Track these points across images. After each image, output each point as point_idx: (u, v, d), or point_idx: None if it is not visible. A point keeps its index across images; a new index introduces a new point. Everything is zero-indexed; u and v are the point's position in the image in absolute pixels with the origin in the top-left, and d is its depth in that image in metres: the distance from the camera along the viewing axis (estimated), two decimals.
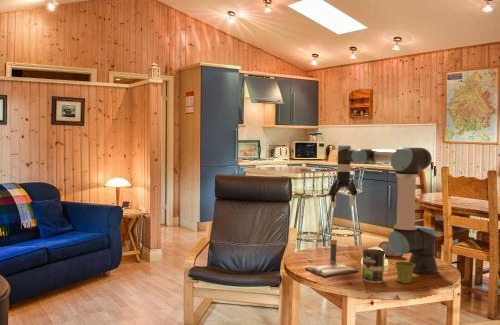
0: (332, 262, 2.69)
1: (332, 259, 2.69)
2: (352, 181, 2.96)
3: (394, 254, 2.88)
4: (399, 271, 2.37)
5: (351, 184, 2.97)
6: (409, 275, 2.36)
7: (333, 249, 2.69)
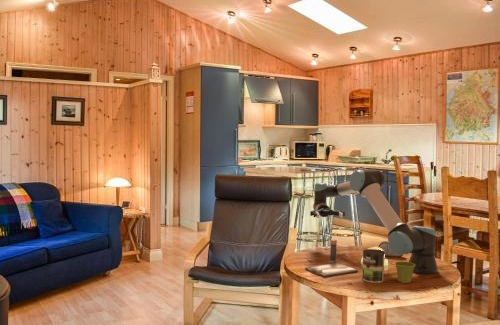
0: (332, 262, 2.69)
1: (332, 259, 2.69)
2: (334, 209, 2.94)
3: (394, 254, 2.88)
4: (399, 271, 2.37)
5: None
6: (409, 275, 2.36)
7: (333, 249, 2.69)
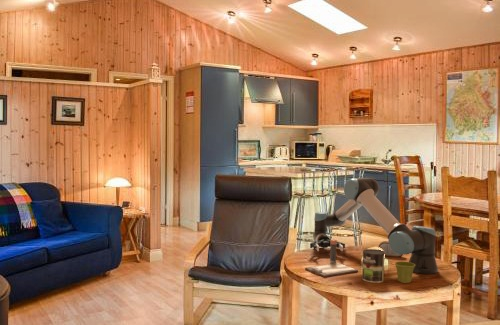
0: (332, 262, 2.69)
1: (332, 259, 2.69)
2: None
3: (394, 254, 2.88)
4: (399, 271, 2.37)
5: None
6: (409, 275, 2.36)
7: (333, 249, 2.69)
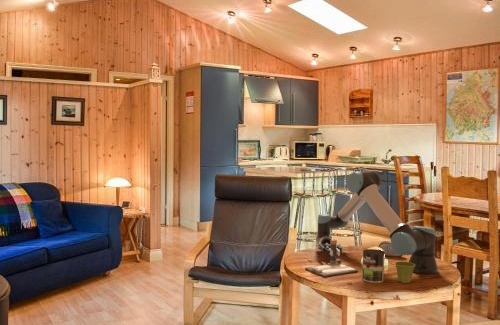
0: (332, 262, 2.69)
1: (332, 259, 2.69)
2: None
3: (394, 254, 2.88)
4: (399, 271, 2.37)
5: None
6: (409, 275, 2.36)
7: (333, 249, 2.69)
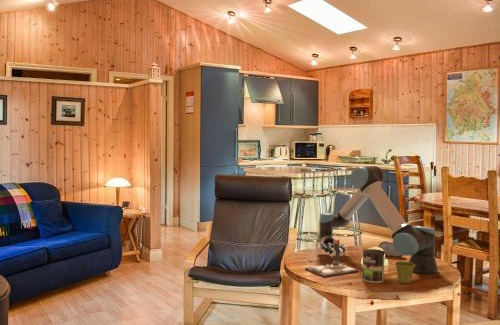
0: (335, 262, 2.63)
1: (335, 259, 2.63)
2: (341, 244, 2.74)
3: (394, 254, 2.88)
4: (399, 271, 2.37)
5: (340, 247, 2.72)
6: (409, 275, 2.36)
7: (336, 249, 2.62)
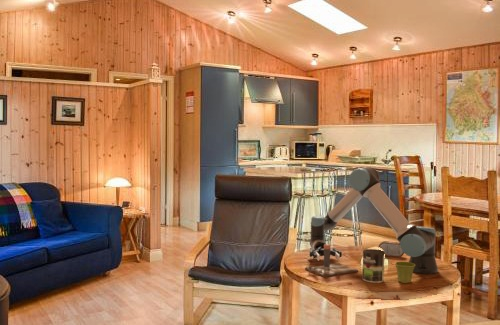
0: (326, 268, 2.52)
1: (326, 265, 2.52)
2: (333, 248, 2.64)
3: (394, 254, 2.88)
4: (399, 271, 2.37)
5: None
6: (409, 275, 2.36)
7: (327, 255, 2.52)
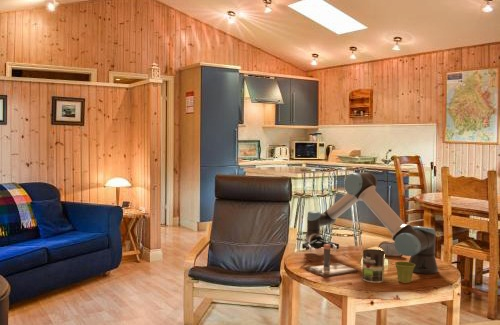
0: (326, 268, 2.52)
1: (326, 265, 2.52)
2: (328, 241, 2.78)
3: (394, 254, 2.88)
4: (399, 271, 2.37)
5: None
6: (409, 275, 2.36)
7: (327, 255, 2.52)
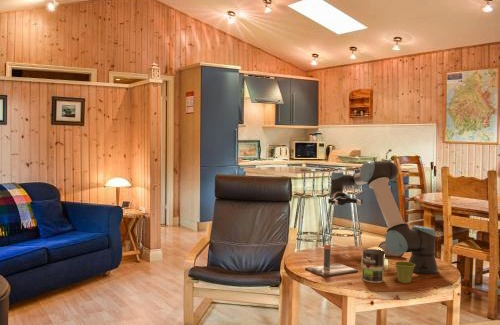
0: (326, 268, 2.52)
1: (326, 265, 2.52)
2: (352, 197, 2.96)
3: (394, 254, 2.88)
4: (399, 271, 2.37)
5: None
6: (409, 275, 2.36)
7: (327, 255, 2.52)
